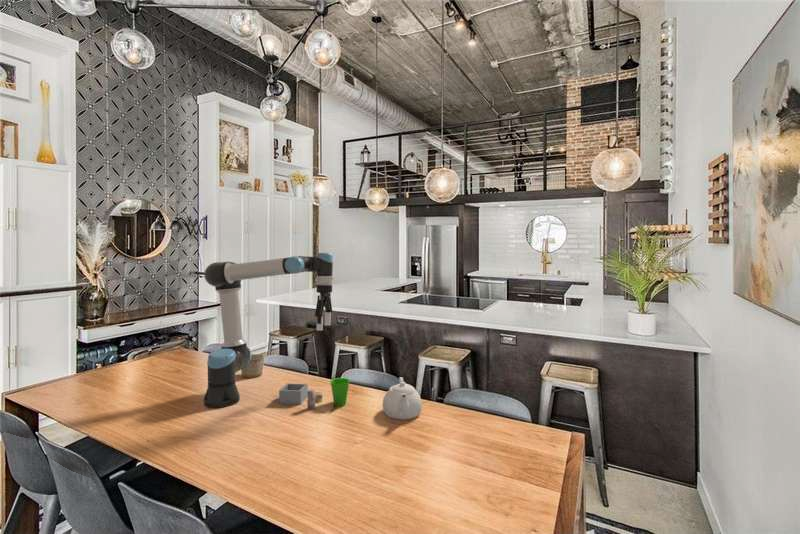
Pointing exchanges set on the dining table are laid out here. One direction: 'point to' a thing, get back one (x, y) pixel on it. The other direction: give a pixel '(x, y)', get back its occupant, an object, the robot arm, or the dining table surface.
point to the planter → (253, 366)
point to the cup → (339, 390)
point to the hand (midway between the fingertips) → (323, 327)
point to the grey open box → (293, 393)
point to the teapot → (402, 401)
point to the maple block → (318, 396)
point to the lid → (311, 399)
